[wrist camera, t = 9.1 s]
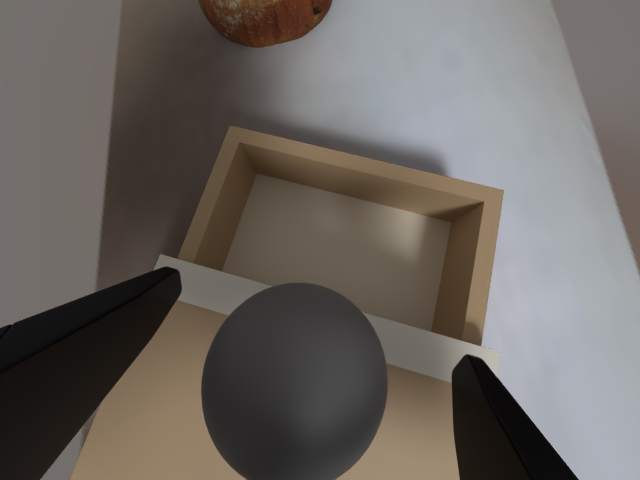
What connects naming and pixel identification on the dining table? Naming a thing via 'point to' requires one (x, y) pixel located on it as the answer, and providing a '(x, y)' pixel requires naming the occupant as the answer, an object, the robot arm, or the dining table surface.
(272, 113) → the dining table surface
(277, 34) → the bread roll
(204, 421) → the lid
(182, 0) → the dining table surface
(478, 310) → the wooden box
